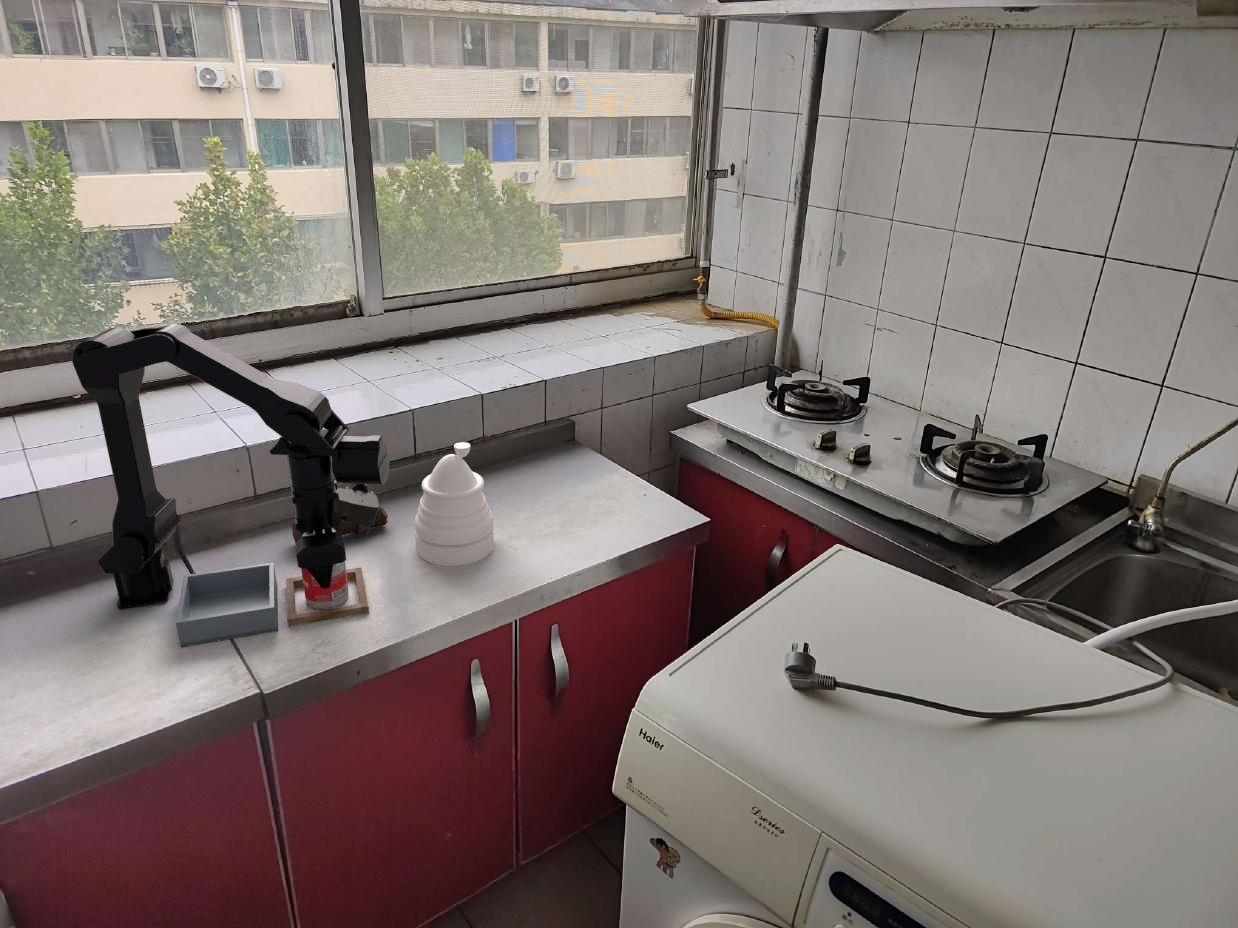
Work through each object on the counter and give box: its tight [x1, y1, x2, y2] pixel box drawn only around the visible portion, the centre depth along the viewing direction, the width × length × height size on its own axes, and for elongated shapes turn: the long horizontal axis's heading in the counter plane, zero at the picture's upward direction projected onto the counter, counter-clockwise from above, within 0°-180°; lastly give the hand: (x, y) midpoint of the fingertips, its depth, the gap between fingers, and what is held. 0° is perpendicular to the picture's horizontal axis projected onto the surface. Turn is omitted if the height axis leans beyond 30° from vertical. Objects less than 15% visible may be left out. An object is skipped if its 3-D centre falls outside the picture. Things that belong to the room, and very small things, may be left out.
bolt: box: [291, 507, 389, 545], centre depth 139 cm, size 6×5×15 cm
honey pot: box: [413, 441, 495, 567], centre depth 135 cm, size 13×13×18 cm
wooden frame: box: [285, 566, 370, 627], centre depth 123 cm, size 11×11×1 cm
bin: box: [175, 562, 279, 648], centre depth 118 cm, size 12×12×4 cm
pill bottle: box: [300, 528, 350, 610], centre depth 121 cm, size 6×6×11 cm
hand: (324, 575), depth 122 cm, fingers closed on pill bottle, 6 cm apart
